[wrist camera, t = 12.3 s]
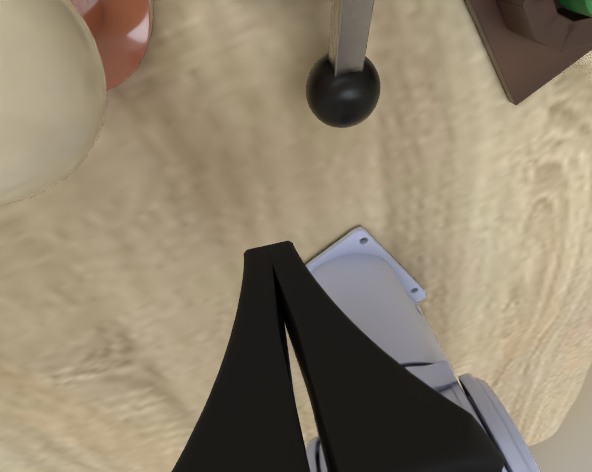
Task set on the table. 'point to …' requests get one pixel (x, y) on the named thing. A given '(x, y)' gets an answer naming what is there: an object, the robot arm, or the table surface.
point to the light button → (578, 6)
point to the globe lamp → (60, 83)
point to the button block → (530, 41)
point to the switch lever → (345, 69)
